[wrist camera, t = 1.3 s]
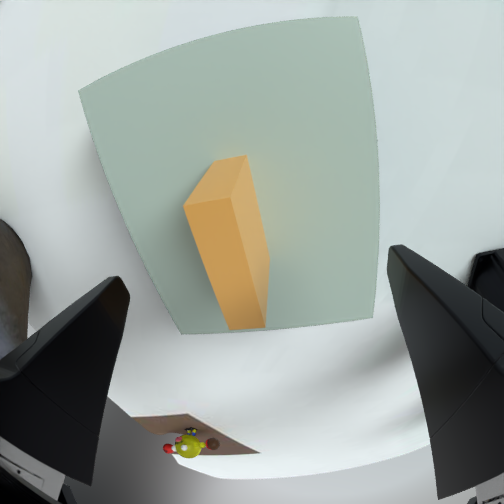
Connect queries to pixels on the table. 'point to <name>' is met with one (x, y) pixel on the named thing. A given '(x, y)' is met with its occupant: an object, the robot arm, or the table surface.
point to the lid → (248, 174)
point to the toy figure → (190, 445)
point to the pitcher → (13, 290)
